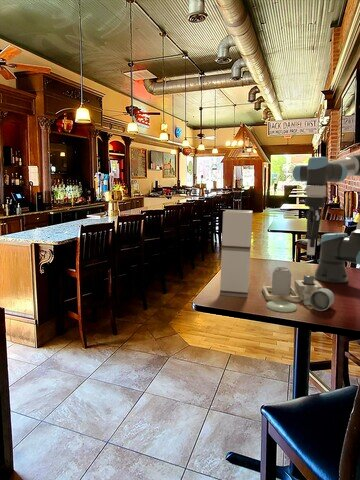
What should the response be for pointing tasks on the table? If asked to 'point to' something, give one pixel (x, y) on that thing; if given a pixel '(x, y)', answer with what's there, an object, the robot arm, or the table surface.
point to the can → (281, 281)
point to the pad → (281, 306)
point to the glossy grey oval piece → (308, 280)
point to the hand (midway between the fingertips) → (310, 254)
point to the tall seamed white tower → (236, 253)
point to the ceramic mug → (320, 299)
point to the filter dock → (293, 292)
